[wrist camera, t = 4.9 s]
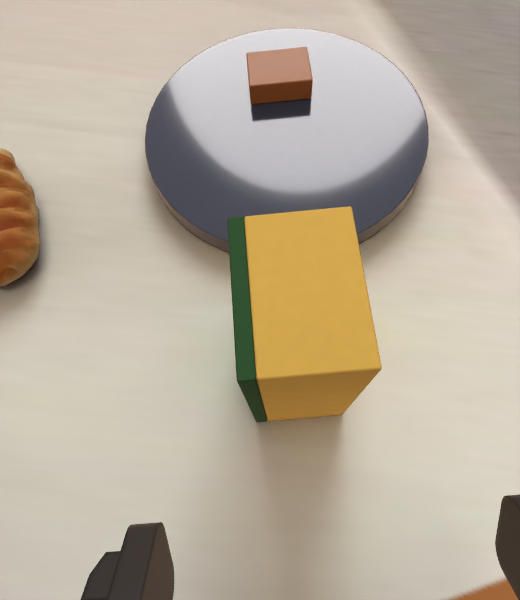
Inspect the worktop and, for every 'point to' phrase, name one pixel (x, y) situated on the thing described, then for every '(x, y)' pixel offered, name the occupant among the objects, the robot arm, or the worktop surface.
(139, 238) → the worktop surface
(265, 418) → the sponge
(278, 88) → the orange slab
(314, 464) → the worktop surface
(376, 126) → the plate
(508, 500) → the robot arm
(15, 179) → the pastry
